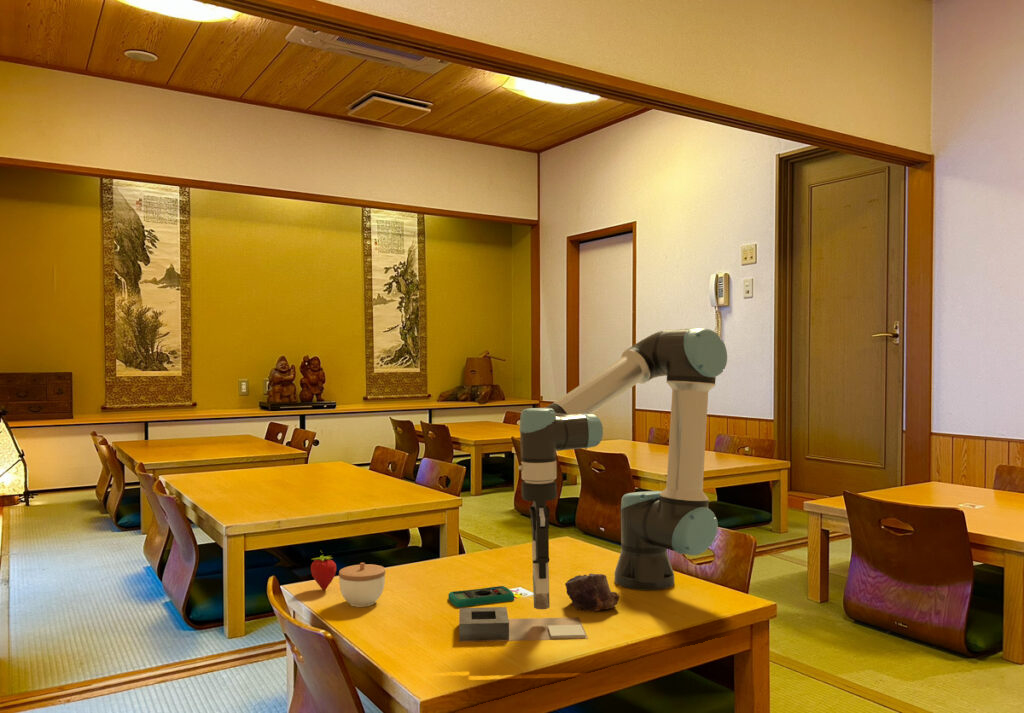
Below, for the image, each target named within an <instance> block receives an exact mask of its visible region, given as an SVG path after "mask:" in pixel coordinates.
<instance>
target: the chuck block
mask: <svg viewBox="0 0 1024 713" xmlns="http://www.w3.org/2000/svg"><path fill="white" fill-rule="evenodd" d="M508 619H509V615H508V610H507V606H502V607H501V606H495V607H492V606H491V607H490V606H489V607H488V606H487V607H460V608H459V621H458V622H459V624H458V627H459V628H458V629H459V630H458V632H459V633H458V636H459V637H458V639H459V640H458V641H477V640H509V620H508Z"/></svg>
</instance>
